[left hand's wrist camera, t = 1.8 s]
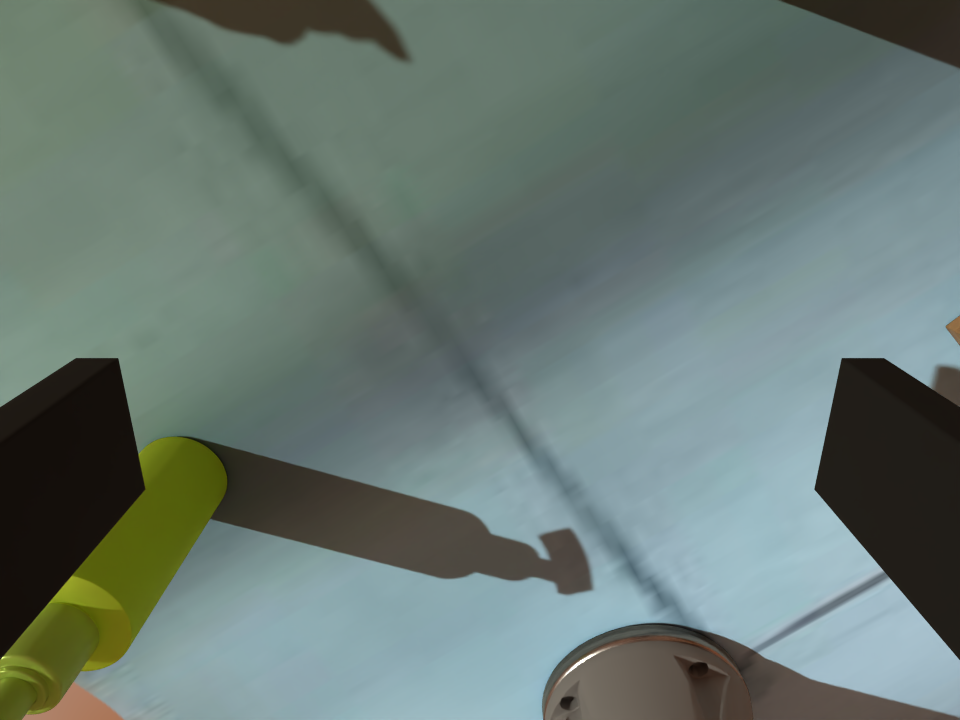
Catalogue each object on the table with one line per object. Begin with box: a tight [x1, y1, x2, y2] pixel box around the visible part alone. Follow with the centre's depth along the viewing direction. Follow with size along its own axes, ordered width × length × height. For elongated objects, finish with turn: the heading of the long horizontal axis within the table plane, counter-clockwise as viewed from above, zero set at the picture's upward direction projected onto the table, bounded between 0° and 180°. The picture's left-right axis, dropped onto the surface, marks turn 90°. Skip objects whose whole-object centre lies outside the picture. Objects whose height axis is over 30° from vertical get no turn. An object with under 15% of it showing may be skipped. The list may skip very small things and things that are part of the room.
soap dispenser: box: [0, 437, 227, 720], centre depth 34 cm, size 6×7×20 cm
